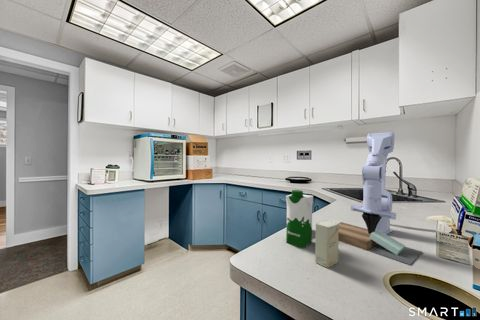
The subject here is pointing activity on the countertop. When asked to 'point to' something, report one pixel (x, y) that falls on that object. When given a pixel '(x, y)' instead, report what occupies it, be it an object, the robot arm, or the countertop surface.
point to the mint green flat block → (387, 242)
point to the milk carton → (299, 219)
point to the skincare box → (326, 243)
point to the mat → (405, 256)
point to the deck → (355, 236)
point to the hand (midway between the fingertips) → (371, 233)
